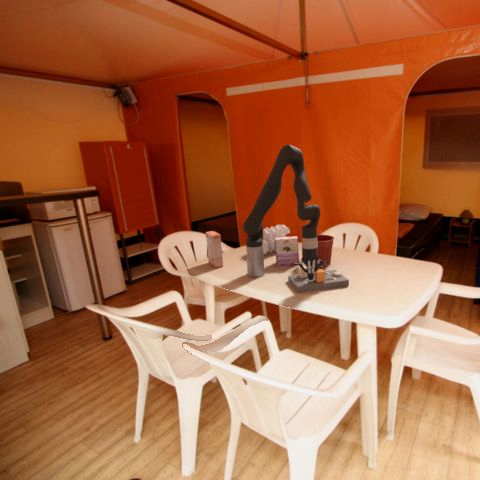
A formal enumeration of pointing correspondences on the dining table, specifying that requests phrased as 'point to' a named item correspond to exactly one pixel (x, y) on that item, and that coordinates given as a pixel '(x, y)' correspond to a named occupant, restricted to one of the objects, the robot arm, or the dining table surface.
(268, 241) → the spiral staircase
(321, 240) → the flower pot
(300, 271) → the ivory slider
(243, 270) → the dining table surface
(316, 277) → the orange slider
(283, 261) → the candy box
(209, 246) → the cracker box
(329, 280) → the panel
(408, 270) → the dining table surface
